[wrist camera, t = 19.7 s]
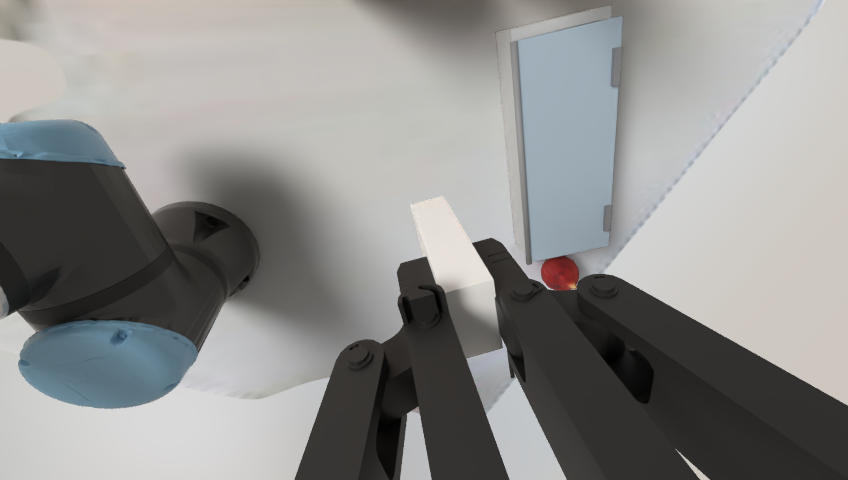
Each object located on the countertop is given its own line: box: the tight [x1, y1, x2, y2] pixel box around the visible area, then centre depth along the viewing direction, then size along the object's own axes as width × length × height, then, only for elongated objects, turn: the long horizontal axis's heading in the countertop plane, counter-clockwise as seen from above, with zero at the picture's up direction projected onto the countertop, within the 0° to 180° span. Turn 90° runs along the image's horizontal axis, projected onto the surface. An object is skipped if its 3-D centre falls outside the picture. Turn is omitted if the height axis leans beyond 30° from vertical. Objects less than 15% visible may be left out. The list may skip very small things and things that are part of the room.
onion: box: [541, 256, 579, 291], centre depth 58 cm, size 6×6×8 cm
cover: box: [510, 16, 623, 265], centre depth 46 cm, size 1×30×13 cm
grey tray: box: [496, 5, 612, 256], centre depth 49 cm, size 12×31×5 cm, turn 12°
